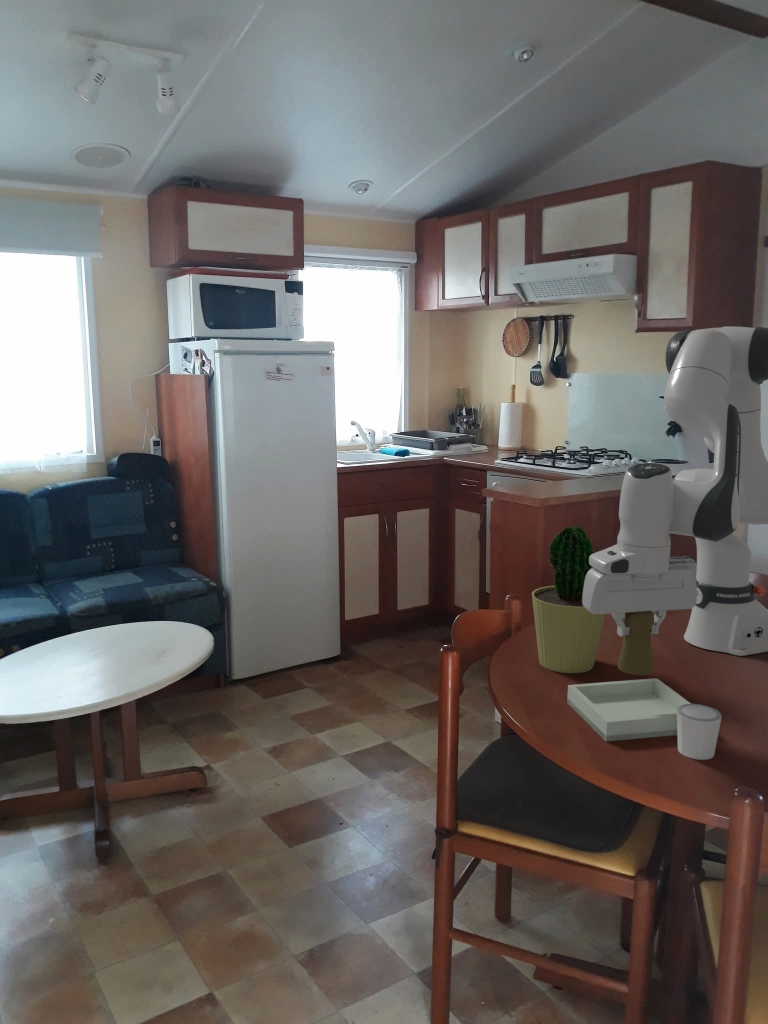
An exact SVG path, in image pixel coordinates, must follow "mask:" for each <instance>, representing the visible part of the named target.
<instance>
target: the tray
mask: <svg viewBox="0 0 768 1024" xmlns="http://www.w3.org/2000/svg"><path fill="white" fill-rule="evenodd" d="M566 698H567V702H566V703H567V704H568V706H570V707H571V708H572V709H573V710H574V712H576V713H577V714H578V715H579V716H580V718H582V720H584V721H585V722H586V724H588V725H589V727H590V728H592V729H593V730H594V731H595V732H596V734H597V735H598V736H600V738H602V739H603V740H604V742H606V743H607V742H615V741H625V740H627V741H628V740H637V739H649V738H659V737H670V736H678V735H677V708H678V707H679V706H680V705H684V704H692V703H691V702H690V701H688V700H687V699H685V698H684V697H683V696H682V695H680V694H679V693H678V692H676V691H675V690H673V689H672V688H671V687H669V686H668V685H666V684H665V683H664V682H662V681H661V680H660V679H658V678H656V677H655V678H642V679H631V680H630V679H629V680H618V681H617V680H616V681H606V682H605V681H603V682H592V683H589V682H588V683H579V684H568V685H567V697H566Z"/></svg>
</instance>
